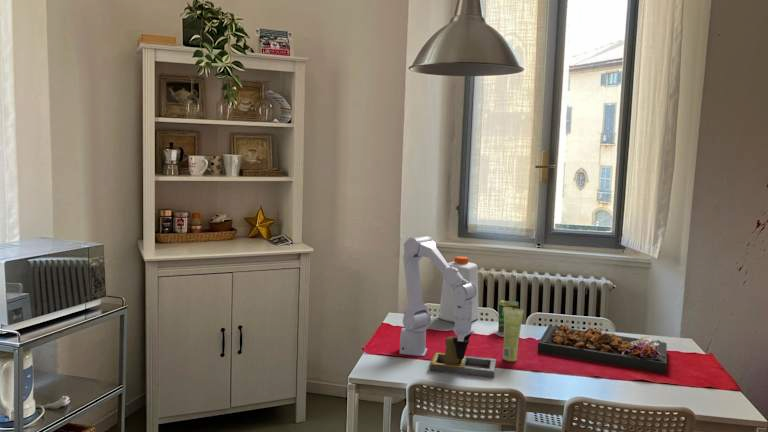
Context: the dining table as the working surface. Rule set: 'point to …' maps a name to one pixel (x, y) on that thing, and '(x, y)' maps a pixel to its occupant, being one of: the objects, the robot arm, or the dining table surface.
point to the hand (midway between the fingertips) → (461, 354)
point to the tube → (511, 332)
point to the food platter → (605, 348)
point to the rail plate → (464, 366)
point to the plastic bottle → (447, 298)
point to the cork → (450, 352)
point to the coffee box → (501, 313)
